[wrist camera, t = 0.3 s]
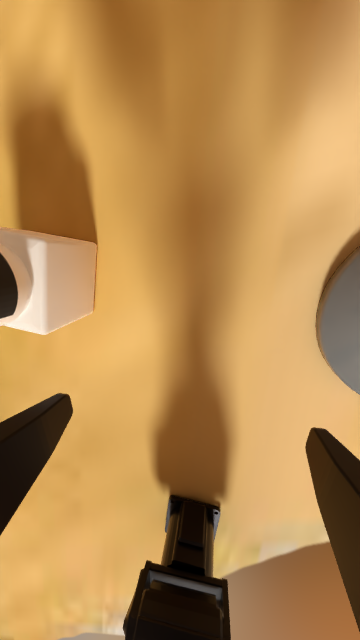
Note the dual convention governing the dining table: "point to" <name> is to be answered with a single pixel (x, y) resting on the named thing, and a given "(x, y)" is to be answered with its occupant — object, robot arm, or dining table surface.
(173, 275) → the dining table surface
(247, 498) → the dining table surface
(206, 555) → the robot arm
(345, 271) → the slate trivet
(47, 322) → the medicine bottle
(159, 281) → the dining table surface
